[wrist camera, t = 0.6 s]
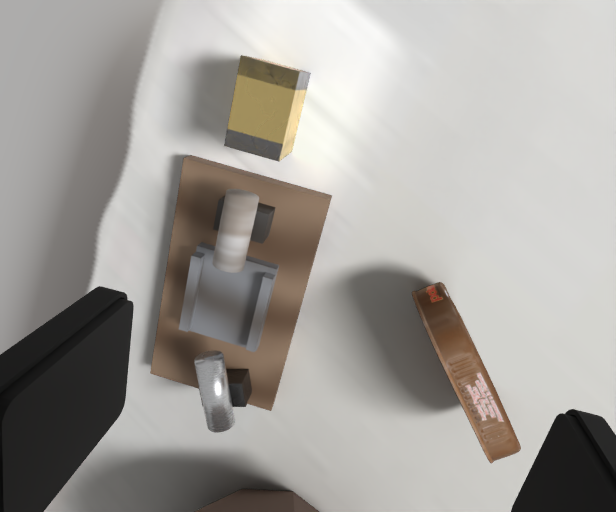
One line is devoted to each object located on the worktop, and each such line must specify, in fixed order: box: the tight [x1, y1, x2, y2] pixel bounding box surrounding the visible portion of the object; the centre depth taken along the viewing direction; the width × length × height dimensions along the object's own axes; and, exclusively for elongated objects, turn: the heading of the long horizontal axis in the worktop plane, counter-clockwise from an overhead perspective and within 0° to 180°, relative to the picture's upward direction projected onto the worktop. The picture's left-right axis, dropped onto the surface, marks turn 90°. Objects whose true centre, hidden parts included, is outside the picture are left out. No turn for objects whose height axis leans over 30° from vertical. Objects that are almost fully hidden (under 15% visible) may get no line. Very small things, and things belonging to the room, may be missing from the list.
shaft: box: [194, 350, 252, 432], centre depth 41 cm, size 6×4×5 cm, turn 6°
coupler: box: [224, 55, 310, 161], centre depth 34 cm, size 6×4×5 cm, turn 166°
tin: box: [412, 282, 521, 463], centre depth 37 cm, size 15×3×8 cm, turn 27°
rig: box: [150, 155, 332, 411], centre depth 40 cm, size 21×12×6 cm, turn 166°
